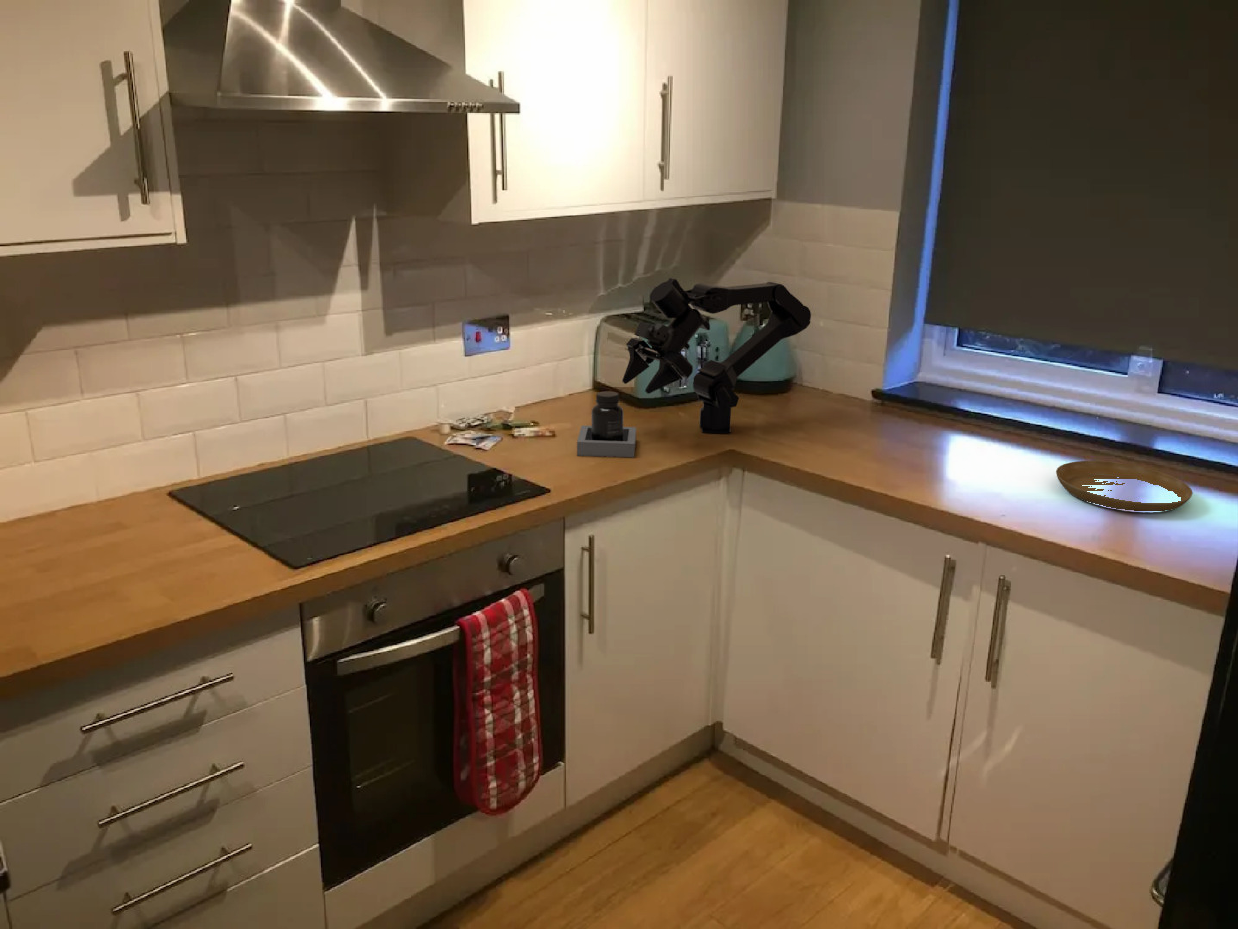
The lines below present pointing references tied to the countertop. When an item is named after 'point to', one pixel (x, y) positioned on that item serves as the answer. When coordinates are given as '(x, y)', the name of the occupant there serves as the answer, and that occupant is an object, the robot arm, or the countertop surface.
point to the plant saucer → (1087, 471)
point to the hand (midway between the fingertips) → (634, 387)
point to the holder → (606, 444)
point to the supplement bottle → (607, 417)
